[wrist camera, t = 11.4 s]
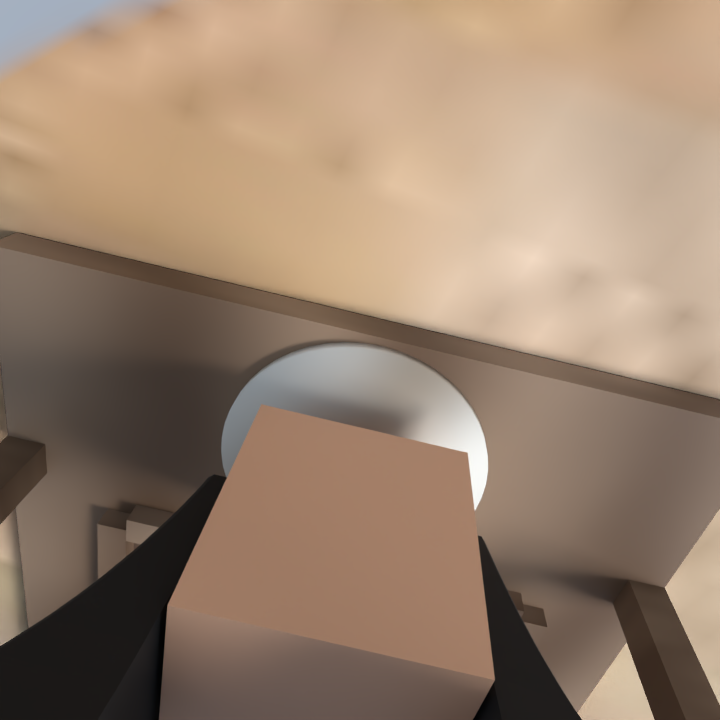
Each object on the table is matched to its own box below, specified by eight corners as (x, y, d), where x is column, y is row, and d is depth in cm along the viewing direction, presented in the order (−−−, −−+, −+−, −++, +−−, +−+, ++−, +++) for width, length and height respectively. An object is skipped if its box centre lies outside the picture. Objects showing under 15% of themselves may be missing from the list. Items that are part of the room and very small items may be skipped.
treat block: (467, 452, 12) (495, 679, 8) (413, 591, 14) (409, 832, 10) (261, 403, 12) (167, 605, 7) (238, 551, 14) (154, 774, 10)
